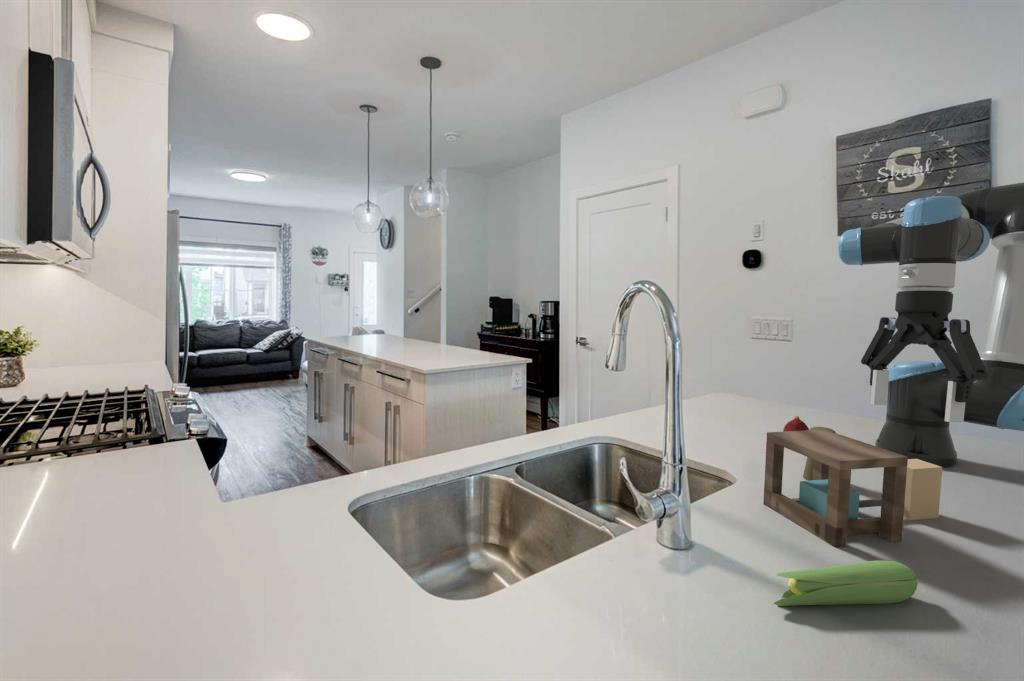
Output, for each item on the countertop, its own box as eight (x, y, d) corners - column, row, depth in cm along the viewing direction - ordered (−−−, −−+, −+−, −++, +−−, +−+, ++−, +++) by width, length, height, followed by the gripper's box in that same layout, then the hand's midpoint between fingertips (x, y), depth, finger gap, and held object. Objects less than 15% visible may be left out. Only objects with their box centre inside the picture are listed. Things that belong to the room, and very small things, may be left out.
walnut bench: (820, 499, 92) (824, 429, 91) (901, 540, 77) (907, 456, 75) (763, 503, 90) (766, 432, 89) (835, 547, 74) (840, 461, 73)
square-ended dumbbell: (908, 505, 90) (912, 457, 89) (942, 519, 84) (946, 468, 83) (798, 514, 86) (800, 464, 85) (825, 530, 80) (828, 476, 79)
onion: (813, 450, 122) (815, 418, 122) (790, 450, 122) (792, 418, 122) (800, 443, 128) (802, 413, 127) (778, 443, 128) (779, 413, 127)
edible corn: (937, 578, 59) (906, 549, 63) (779, 590, 57) (758, 559, 62) (924, 609, 61) (894, 579, 65) (771, 622, 59) (750, 590, 64)
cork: (842, 486, 99) (845, 432, 98) (809, 483, 100) (812, 430, 99) (829, 475, 105) (832, 424, 104) (798, 473, 106) (801, 423, 105)
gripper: (845, 291, 96) (836, 398, 97) (986, 286, 71) (972, 430, 73) (878, 292, 97) (869, 398, 98) (1029, 288, 72) (1014, 430, 74)
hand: (913, 412), depth 86 cm, fingers open, 13 cm apart
